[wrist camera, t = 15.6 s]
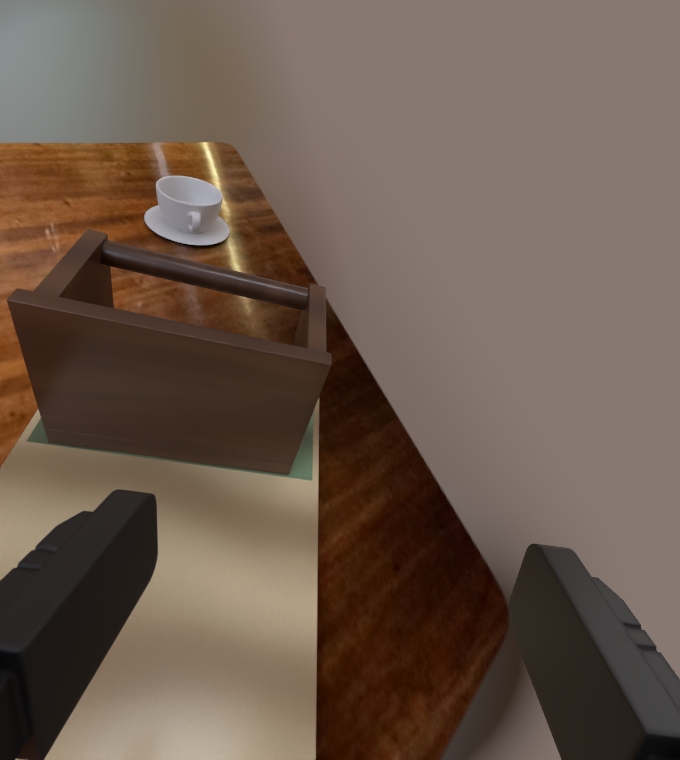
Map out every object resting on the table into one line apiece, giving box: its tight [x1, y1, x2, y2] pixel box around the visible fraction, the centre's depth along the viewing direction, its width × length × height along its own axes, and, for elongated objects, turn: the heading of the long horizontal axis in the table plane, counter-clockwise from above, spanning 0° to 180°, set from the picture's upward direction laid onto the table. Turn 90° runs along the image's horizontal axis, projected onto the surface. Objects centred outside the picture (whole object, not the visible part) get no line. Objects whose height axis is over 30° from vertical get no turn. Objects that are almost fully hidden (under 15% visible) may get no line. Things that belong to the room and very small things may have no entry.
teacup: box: [144, 176, 230, 245], centre depth 51 cm, size 10×10×5 cm
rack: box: [7, 229, 331, 475], centre depth 29 cm, size 10×16×12 cm, turn 92°
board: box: [0, 398, 319, 760], centre depth 28 cm, size 28×20×1 cm
